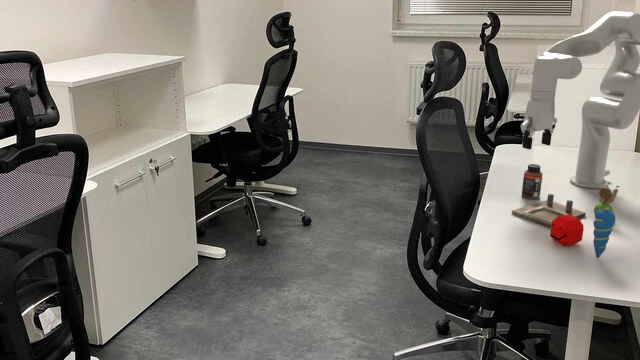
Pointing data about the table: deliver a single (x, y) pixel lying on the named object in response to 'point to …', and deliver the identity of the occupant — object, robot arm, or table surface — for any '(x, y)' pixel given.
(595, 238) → the ornament
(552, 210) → the pin board
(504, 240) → the table surface
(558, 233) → the ball
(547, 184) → the table surface
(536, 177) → the supplement bottle
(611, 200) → the snail figurine
